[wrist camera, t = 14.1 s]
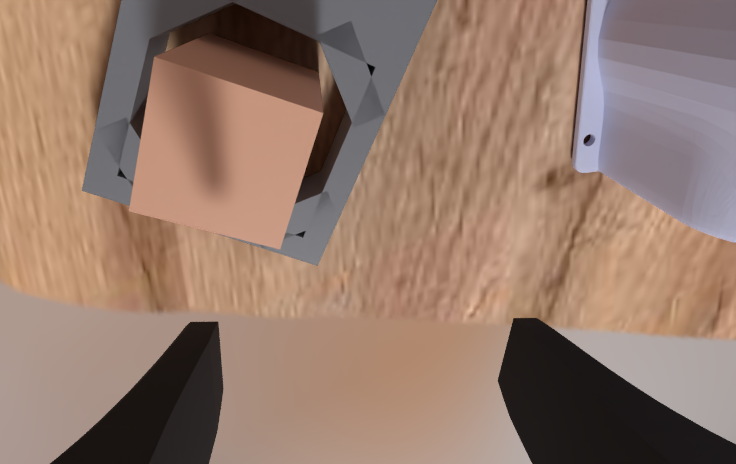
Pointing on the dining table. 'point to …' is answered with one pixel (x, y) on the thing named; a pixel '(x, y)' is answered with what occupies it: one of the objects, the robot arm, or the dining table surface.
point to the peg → (226, 139)
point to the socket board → (345, 58)
